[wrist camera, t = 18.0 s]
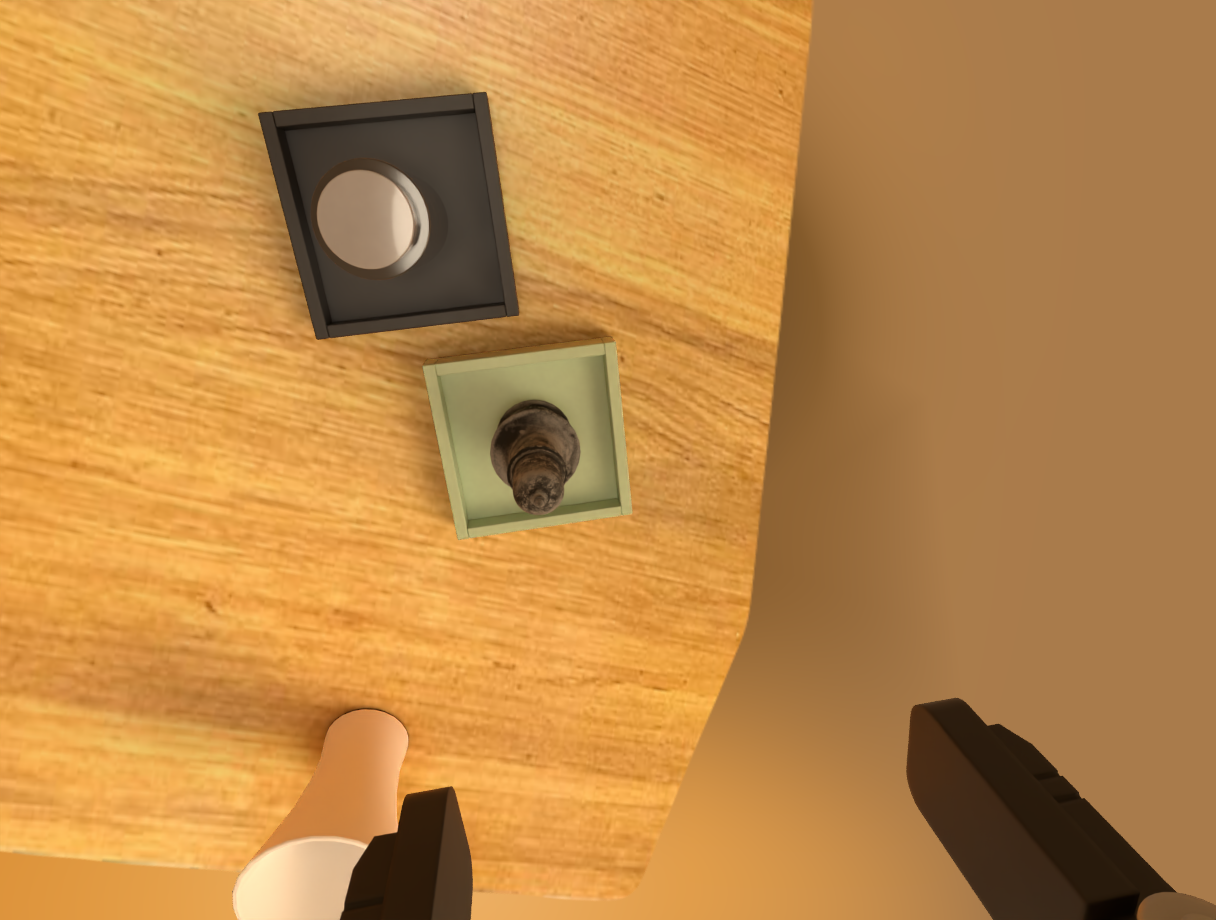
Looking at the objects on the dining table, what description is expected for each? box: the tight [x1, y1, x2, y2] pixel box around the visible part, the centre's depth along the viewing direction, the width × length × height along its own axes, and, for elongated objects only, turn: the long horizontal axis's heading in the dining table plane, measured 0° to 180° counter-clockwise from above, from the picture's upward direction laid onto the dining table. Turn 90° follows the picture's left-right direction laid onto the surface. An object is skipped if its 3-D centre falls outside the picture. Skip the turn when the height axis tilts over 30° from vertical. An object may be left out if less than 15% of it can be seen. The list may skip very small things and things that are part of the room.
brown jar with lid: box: [311, 158, 448, 280], centre depth 35 cm, size 6×6×10 cm
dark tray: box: [258, 92, 519, 340], centre depth 40 cm, size 13×13×2 cm
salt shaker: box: [490, 400, 581, 515], centre depth 40 cm, size 6×6×12 cm
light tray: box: [422, 337, 632, 540], centre depth 46 cm, size 13×13×2 cm
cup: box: [232, 709, 408, 920], centre depth 47 cm, size 10×10×14 cm
